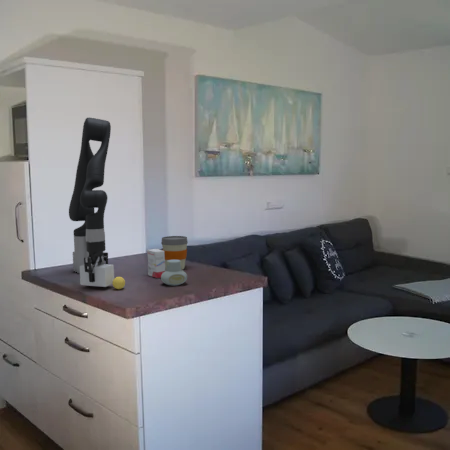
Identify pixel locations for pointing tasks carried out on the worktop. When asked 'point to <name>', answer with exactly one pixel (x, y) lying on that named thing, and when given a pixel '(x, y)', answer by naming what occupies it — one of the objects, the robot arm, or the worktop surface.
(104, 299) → the worktop surface
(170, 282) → the air freshener
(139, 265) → the worktop surface
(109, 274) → the white rectangular block
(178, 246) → the reusable coffee cup
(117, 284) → the ball
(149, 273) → the ink box
